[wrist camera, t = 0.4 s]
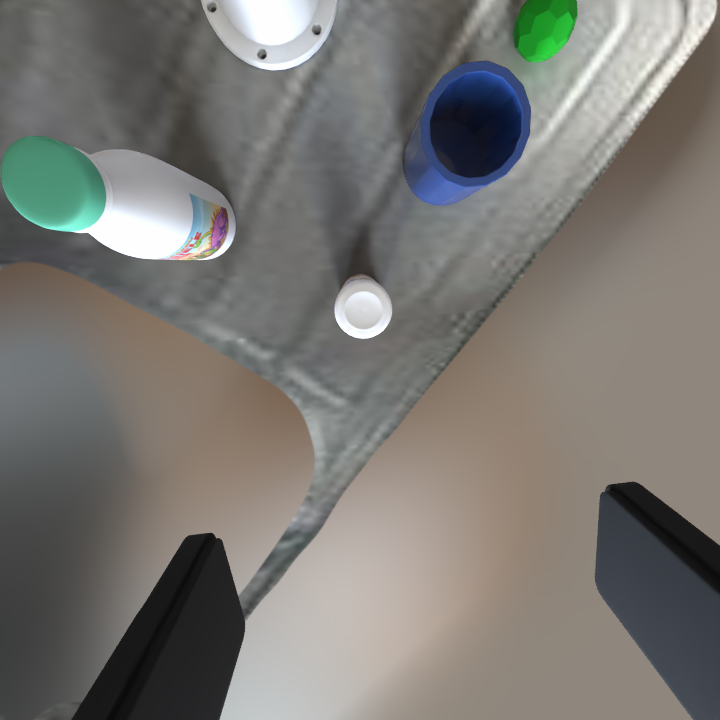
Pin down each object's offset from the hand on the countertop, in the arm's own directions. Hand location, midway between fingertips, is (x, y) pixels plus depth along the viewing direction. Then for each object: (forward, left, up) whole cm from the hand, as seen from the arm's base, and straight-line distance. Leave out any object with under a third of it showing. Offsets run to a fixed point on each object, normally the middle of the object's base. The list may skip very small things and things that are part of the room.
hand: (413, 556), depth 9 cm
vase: (-5, +18, -34) cm, 38 cm away
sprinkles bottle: (-3, +2, -34) cm, 34 cm away
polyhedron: (-5, +31, -34) cm, 46 cm away
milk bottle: (-21, -3, -34) cm, 40 cm away
